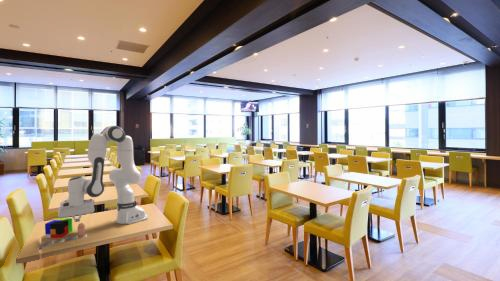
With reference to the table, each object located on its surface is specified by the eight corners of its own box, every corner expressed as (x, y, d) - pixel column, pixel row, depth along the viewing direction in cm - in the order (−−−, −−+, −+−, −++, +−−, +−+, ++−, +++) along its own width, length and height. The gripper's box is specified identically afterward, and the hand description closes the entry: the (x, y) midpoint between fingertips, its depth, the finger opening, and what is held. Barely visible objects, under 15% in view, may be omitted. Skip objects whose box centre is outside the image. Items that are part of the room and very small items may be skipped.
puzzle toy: (45, 239, 165) (44, 223, 165) (58, 232, 175) (57, 218, 175) (61, 239, 165) (60, 224, 164) (72, 233, 175) (71, 218, 174)
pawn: (85, 234, 170) (84, 221, 170) (85, 236, 167) (85, 223, 167) (77, 235, 168) (77, 223, 167) (78, 237, 165) (77, 224, 164)
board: (87, 234, 173) (87, 232, 173) (89, 238, 167) (89, 236, 167) (38, 245, 157) (38, 242, 157) (38, 250, 151) (38, 247, 151)
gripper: (93, 197, 184) (94, 216, 185) (57, 202, 171) (58, 223, 172) (95, 199, 179) (95, 219, 180) (57, 205, 166) (58, 226, 167)
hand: (77, 221), depth 176 cm, fingers closed
